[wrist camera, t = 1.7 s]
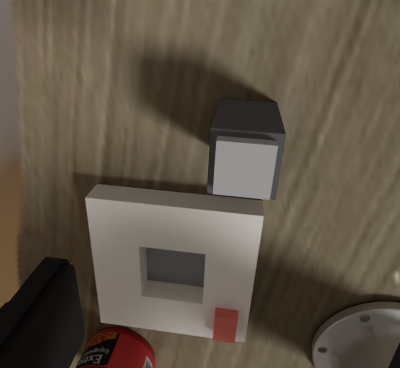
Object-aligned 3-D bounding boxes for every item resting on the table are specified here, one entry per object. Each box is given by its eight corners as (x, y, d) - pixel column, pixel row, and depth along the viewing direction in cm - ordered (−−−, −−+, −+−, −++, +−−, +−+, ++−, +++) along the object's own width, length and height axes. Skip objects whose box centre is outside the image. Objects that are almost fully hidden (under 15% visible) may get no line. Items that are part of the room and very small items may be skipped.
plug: (276, 102, 24) (287, 139, 18) (269, 154, 26) (276, 206, 19) (220, 98, 25) (209, 132, 18) (216, 150, 27) (205, 199, 20)
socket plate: (262, 200, 28) (264, 223, 25) (245, 322, 35) (244, 351, 32) (96, 184, 29) (79, 204, 26) (109, 303, 36) (96, 330, 33)
